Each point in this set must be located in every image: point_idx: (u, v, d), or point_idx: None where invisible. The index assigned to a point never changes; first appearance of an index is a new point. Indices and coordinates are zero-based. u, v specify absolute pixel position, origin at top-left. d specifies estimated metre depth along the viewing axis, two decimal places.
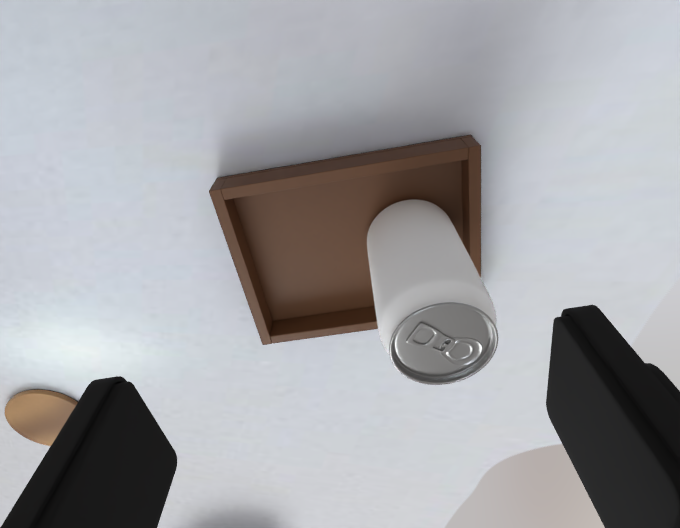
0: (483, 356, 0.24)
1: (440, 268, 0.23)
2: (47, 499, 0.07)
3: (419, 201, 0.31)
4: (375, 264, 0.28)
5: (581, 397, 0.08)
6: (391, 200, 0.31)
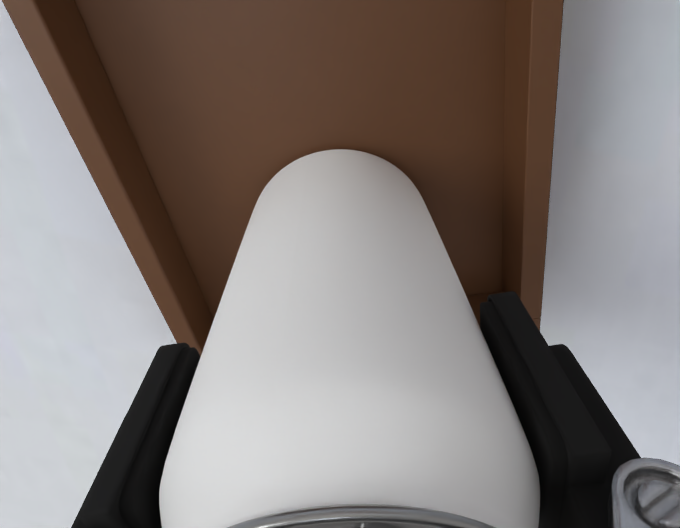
0: None
1: None
2: (139, 445, 0.08)
3: None
4: (388, 225, 0.10)
5: None
6: (421, 191, 0.16)
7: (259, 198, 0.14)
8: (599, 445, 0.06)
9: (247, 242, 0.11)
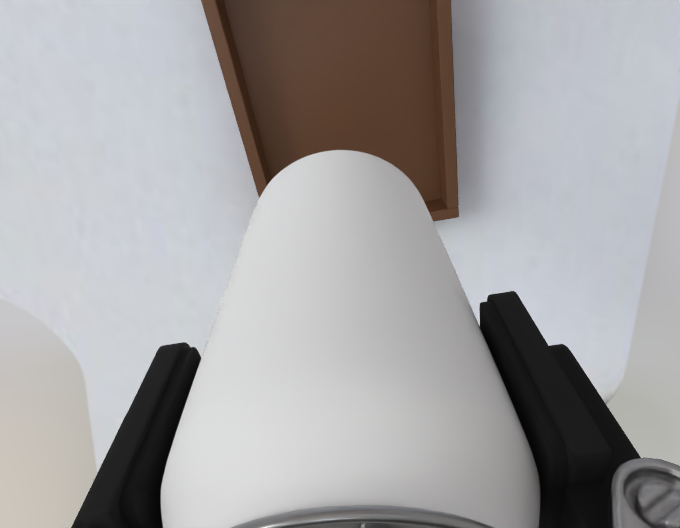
0: None
1: None
2: (139, 445, 0.08)
3: None
4: (389, 226, 0.10)
5: None
6: (395, 139, 0.30)
7: (259, 199, 0.14)
8: (599, 445, 0.06)
9: (248, 243, 0.11)
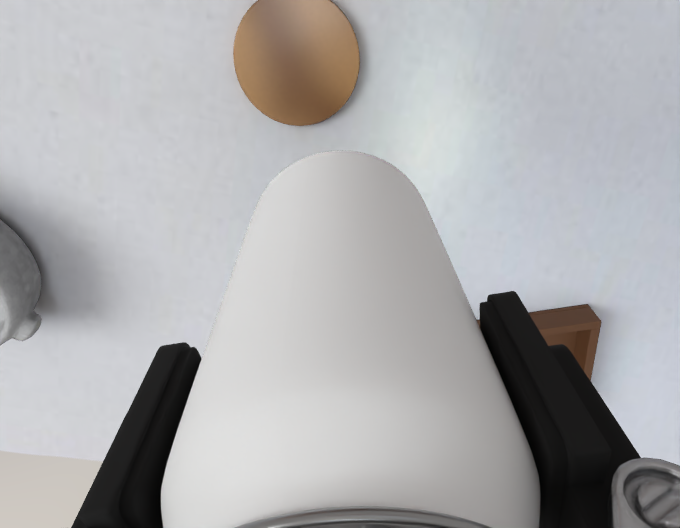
0: None
1: None
2: (139, 445, 0.08)
3: None
4: (389, 226, 0.10)
5: None
6: None
7: (260, 199, 0.14)
8: (599, 445, 0.06)
9: (248, 243, 0.11)
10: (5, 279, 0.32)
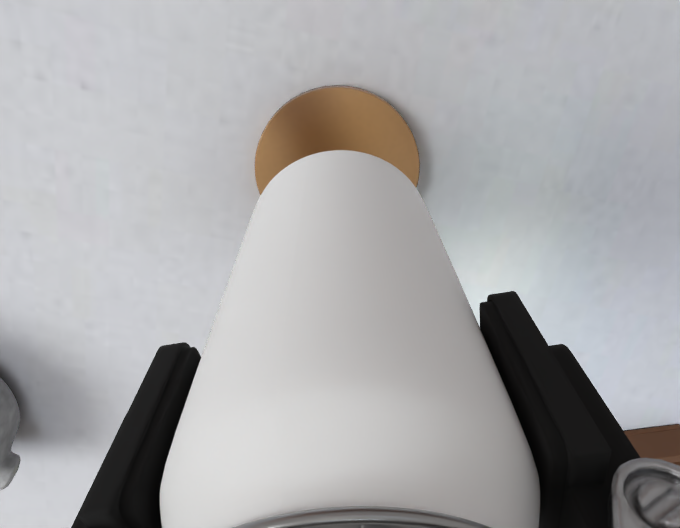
0: None
1: None
2: (139, 445, 0.08)
3: None
4: (389, 226, 0.10)
5: None
6: None
7: (259, 199, 0.14)
8: (599, 445, 0.06)
9: (247, 243, 0.11)
10: None
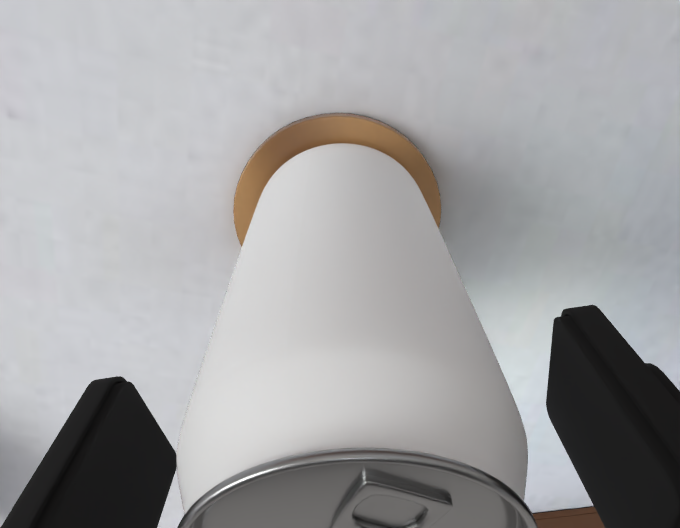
0: None
1: None
2: (47, 499, 0.07)
3: None
4: (388, 212, 0.11)
5: (581, 397, 0.08)
6: None
7: (264, 190, 0.15)
8: None
9: (253, 230, 0.12)
10: None
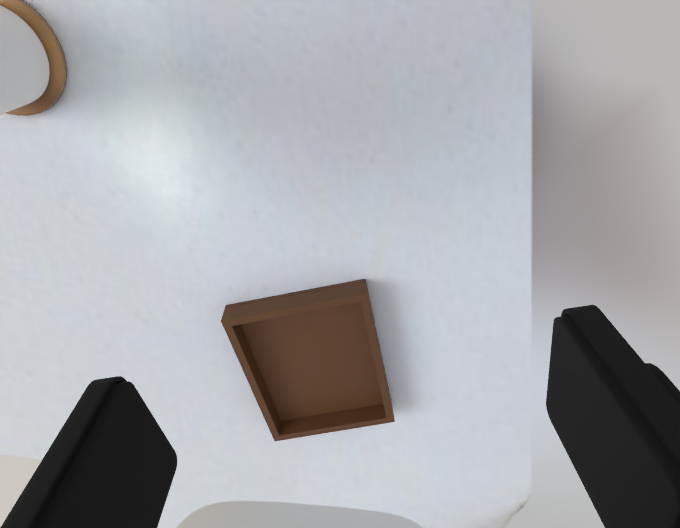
0: None
1: None
2: (47, 499, 0.07)
3: (45, 60, 0.30)
4: None
5: (581, 397, 0.08)
6: (351, 377, 0.47)
7: None
8: None
9: None
10: None
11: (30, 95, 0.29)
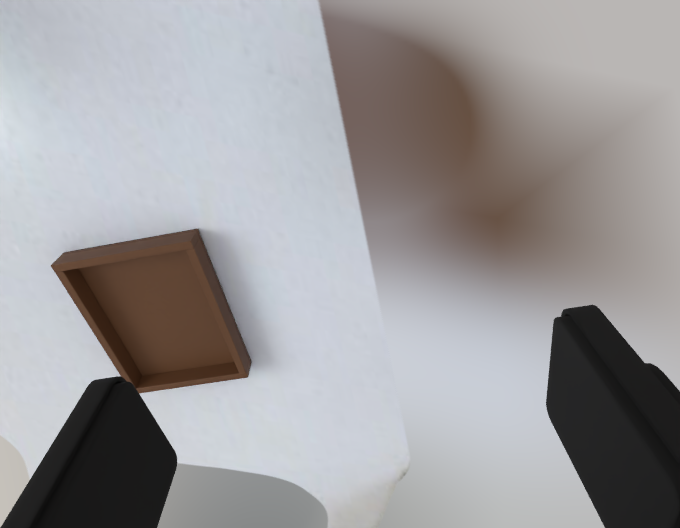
0: None
1: None
2: (47, 499, 0.07)
3: None
4: None
5: (581, 397, 0.08)
6: (203, 331, 0.48)
7: None
8: None
9: None
10: None
11: None
